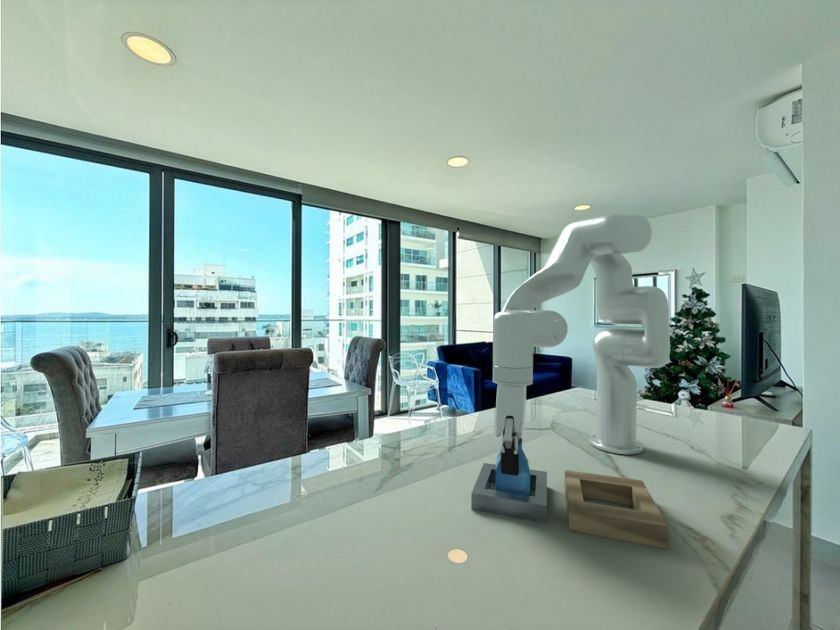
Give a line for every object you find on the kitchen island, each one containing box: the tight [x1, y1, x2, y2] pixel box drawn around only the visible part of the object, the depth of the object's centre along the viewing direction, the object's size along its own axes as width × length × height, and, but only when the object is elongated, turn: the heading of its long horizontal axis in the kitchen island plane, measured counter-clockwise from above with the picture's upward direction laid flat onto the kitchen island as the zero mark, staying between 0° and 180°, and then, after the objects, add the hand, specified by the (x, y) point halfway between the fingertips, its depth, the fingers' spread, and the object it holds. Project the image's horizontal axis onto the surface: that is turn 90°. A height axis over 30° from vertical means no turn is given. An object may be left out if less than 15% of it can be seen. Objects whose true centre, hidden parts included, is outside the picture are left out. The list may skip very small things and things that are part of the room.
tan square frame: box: [564, 469, 669, 550], centre depth 66 cm, size 16×14×4 cm
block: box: [470, 462, 548, 524], centre depth 72 cm, size 14×13×3 cm
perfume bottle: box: [495, 434, 531, 496], centre depth 72 cm, size 6×6×12 cm
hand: (511, 464), depth 72 cm, fingers open, 7 cm apart
